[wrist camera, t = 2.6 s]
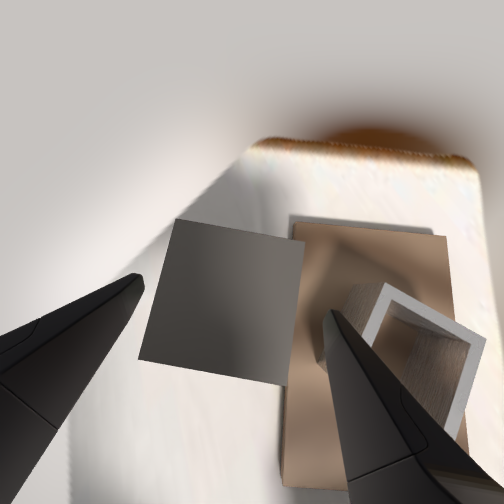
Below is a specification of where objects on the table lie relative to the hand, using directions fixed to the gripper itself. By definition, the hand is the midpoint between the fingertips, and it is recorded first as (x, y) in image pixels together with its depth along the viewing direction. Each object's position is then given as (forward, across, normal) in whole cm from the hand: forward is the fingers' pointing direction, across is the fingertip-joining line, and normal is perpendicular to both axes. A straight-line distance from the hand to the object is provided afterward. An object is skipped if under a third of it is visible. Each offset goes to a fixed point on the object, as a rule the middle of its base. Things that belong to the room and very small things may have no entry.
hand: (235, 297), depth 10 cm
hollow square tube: (+4, -12, +7) cm, 14 cm away
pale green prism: (+6, 0, +6) cm, 8 cm away
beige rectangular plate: (+4, -12, +7) cm, 15 cm away
